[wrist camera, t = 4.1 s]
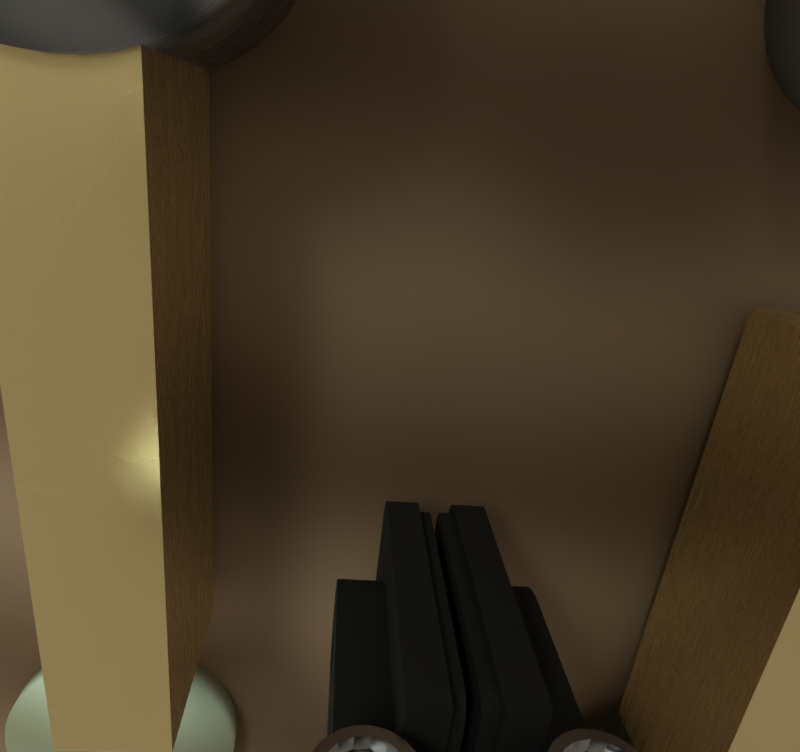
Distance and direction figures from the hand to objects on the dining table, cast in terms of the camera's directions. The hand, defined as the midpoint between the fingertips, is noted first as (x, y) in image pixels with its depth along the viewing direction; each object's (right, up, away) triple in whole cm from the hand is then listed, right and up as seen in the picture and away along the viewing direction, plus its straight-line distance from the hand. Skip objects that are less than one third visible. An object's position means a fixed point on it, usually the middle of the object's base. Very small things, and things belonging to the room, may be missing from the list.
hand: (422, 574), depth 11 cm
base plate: (0, +3, +2) cm, 3 cm away
